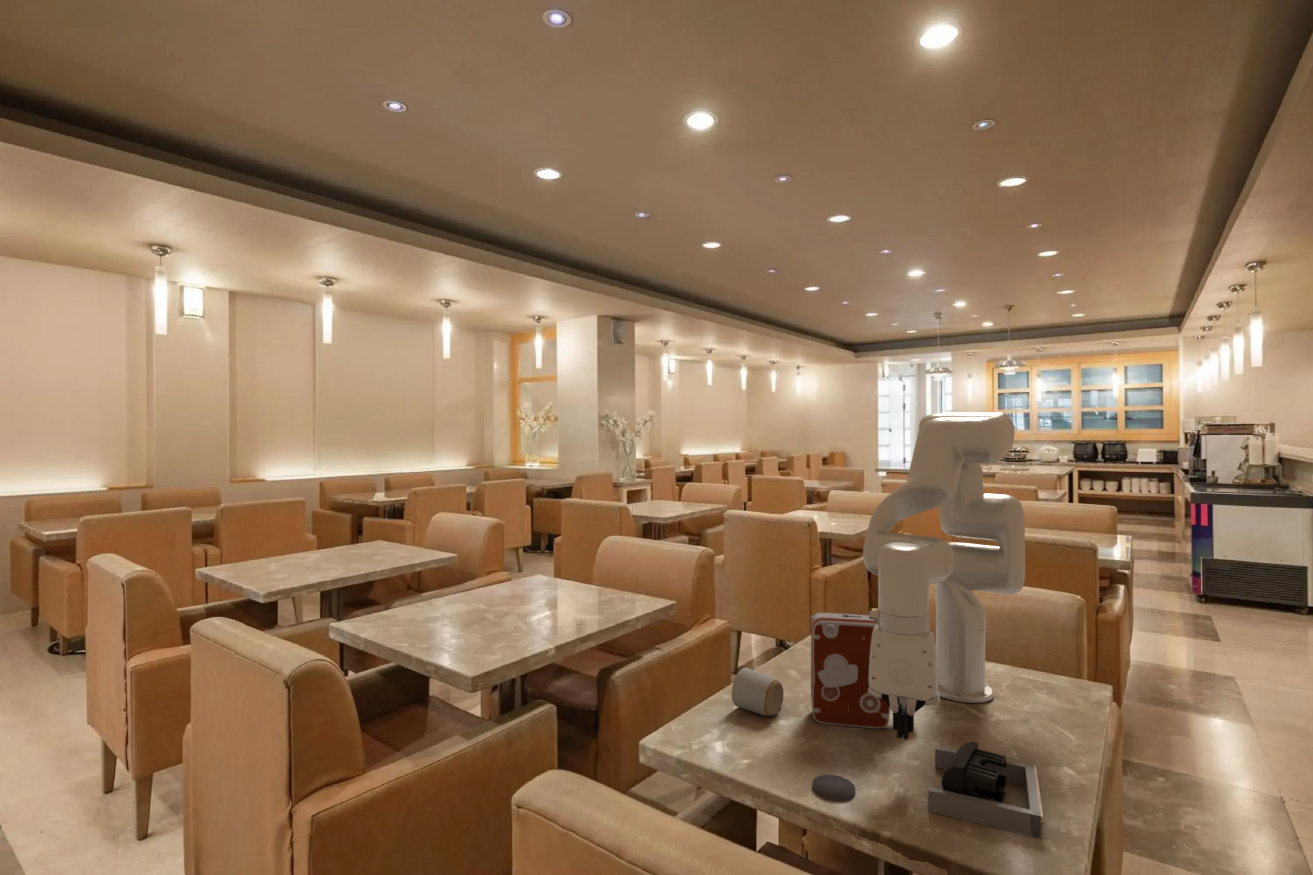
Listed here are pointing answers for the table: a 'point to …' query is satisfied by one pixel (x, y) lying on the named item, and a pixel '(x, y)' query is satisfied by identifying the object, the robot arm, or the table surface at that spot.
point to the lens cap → (833, 788)
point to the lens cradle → (990, 810)
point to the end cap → (975, 774)
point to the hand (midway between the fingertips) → (903, 734)
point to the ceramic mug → (757, 692)
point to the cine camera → (844, 672)
